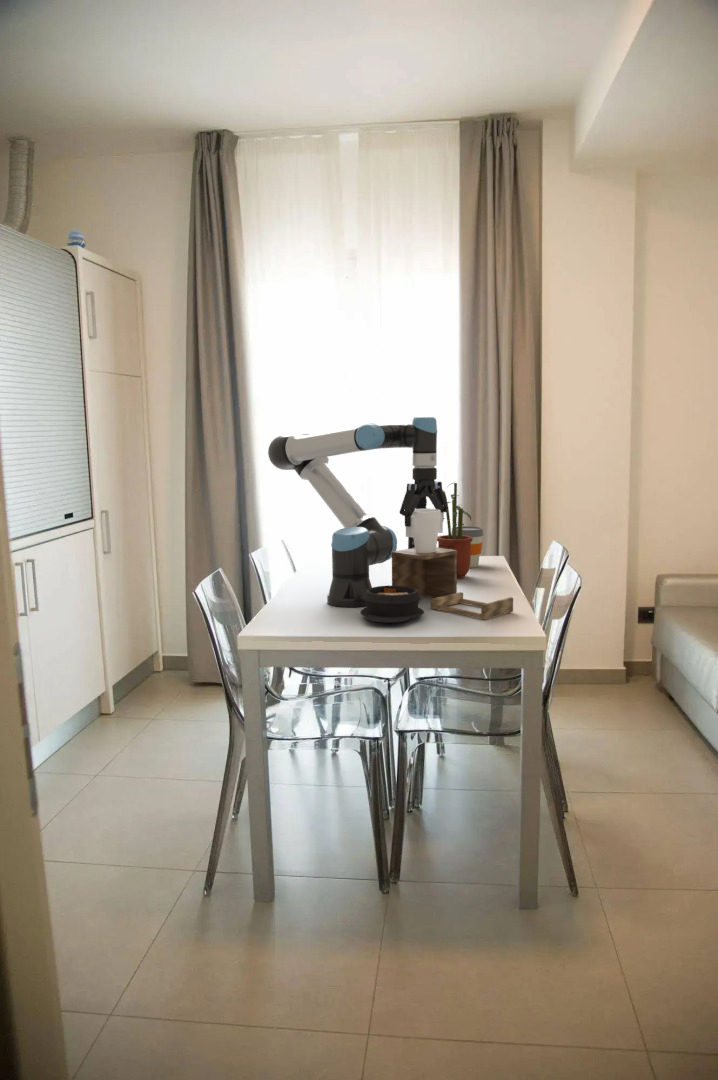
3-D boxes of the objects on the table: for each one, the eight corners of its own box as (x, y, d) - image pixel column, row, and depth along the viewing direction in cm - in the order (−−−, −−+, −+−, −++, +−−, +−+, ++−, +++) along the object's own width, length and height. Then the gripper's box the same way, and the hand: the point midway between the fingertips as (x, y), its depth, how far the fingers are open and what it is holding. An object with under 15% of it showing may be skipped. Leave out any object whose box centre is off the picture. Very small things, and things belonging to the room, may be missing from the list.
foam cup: (441, 548, 260) (441, 508, 258) (440, 553, 251) (440, 512, 249) (411, 548, 261) (411, 508, 259) (409, 553, 252) (409, 512, 250)
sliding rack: (483, 619, 233) (484, 605, 232) (430, 608, 247) (430, 595, 247) (512, 611, 242) (513, 597, 242) (460, 601, 257) (460, 588, 256)
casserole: (370, 607, 251) (370, 580, 250) (430, 610, 247) (430, 583, 246) (350, 627, 227) (350, 597, 226) (416, 630, 223) (416, 600, 222)
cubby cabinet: (422, 608, 249) (422, 556, 247) (392, 602, 258) (391, 551, 256) (456, 600, 260) (456, 550, 258) (426, 594, 269) (426, 546, 267)
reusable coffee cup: (487, 564, 325) (488, 527, 323) (474, 569, 314) (475, 531, 312) (459, 562, 332) (459, 525, 329) (445, 566, 321) (445, 529, 319)
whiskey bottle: (412, 558, 340) (412, 482, 336) (435, 559, 337) (435, 482, 333) (406, 562, 331) (405, 484, 326) (429, 564, 328) (429, 484, 323)
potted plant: (474, 580, 292) (475, 483, 287) (431, 580, 292) (431, 483, 287) (468, 571, 309) (469, 480, 304) (427, 572, 310) (428, 480, 305)
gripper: (406, 469, 241) (406, 540, 244) (459, 465, 258) (459, 531, 261) (387, 468, 247) (388, 537, 250) (441, 465, 264) (441, 529, 267)
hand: (424, 534), depth 255 cm, fingers open, 13 cm apart
